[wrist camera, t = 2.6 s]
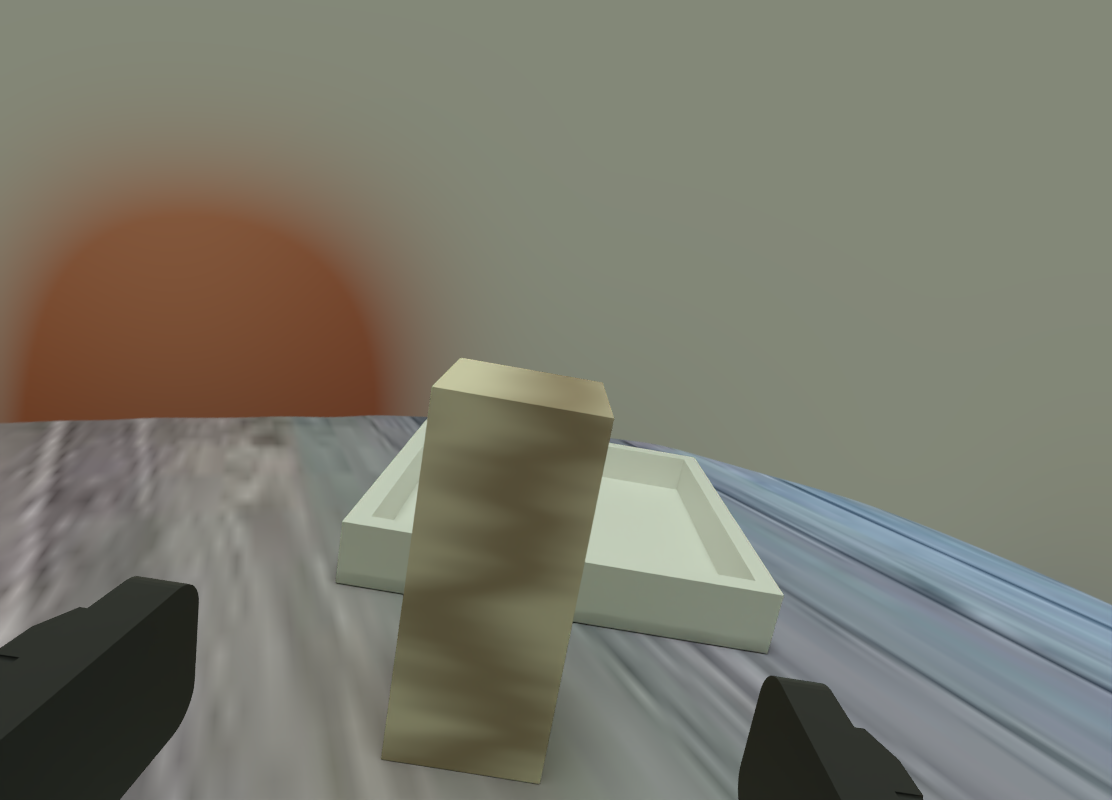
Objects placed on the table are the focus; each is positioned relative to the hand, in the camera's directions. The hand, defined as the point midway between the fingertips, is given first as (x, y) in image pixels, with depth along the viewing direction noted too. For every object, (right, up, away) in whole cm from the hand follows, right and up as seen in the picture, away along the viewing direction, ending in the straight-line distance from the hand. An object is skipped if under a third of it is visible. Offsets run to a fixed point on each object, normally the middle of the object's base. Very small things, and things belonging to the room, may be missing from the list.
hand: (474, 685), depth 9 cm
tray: (+1, -4, +30) cm, 30 cm away
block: (-2, -7, +13) cm, 15 cm away
